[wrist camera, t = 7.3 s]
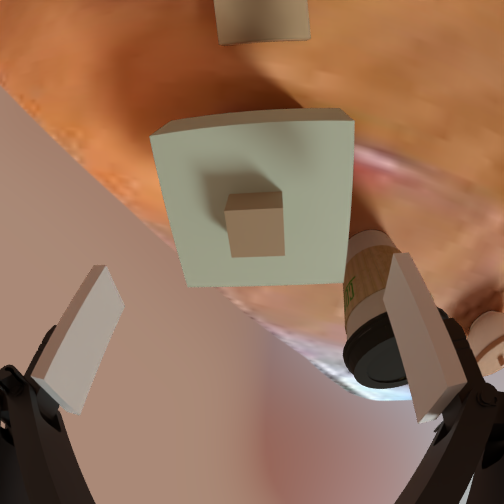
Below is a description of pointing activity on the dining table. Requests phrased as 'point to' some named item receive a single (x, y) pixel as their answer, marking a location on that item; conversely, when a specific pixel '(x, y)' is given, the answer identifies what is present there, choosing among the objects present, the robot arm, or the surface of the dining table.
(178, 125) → the lid
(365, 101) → the dining table surface
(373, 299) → the coffee cup
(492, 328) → the lidded jar
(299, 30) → the oak stand
